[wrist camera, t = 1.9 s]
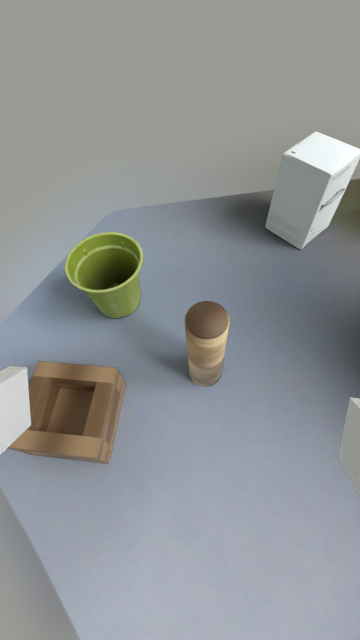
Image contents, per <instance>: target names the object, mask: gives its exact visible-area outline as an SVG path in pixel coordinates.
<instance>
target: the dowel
mask: <svg viewBox="0 0 360 640" xmlns="http://www.w3.org/2000/svg"><path fill="white" fill-rule="evenodd" d="M229 322H230V321H229V316H228V314H227V312H226V310H225V309H224V308H223V307H222V306H221V305H219V304H217V303H215V302H211V301H203V302H199V303H197V304H195V305H193V306H192V307H191V308H190V309H189V310H188V312H187V314H186V316H185V330H186V342H187V355H188V367H189V375H190V378H191V379H192V381H193V382H194V383H196V384H197V385H199V386H204V387H207V386H211V385H214V384H215V383H216V382H218V380H219V379H220V377H221V372H222V366H223V360H224V354H225V348H226V341H227V335H228V329H229Z"/></svg>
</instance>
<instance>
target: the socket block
mask: <svg viewBox="0 0 360 640" xmlns="http://www.w3.org/2000/svg"><path fill="white" fill-rule="evenodd" d="M125 386H126V383H125V381H124V379H123V378H122V376H121V374H120V373H119V371H118V369H117V368H114V367H103V366H91V365H79V364H68V363H56V362H44V361H38V363H37V365H36V368H35V370H34V373H33V376H32V378H31V381H30V384H29V386H28V389H29V402H30V416H31V426H30V427H29V428H28V429H27V430H26V431H25V432H24V433H22V434H21V435H20V436H19V437H18V438H17V439H16V440H15V441H14V442H13V443H12V444H11V445H10V446H9V447H8V448H11V449H14V450H17V451H21V452H24V453H27V454H31V455H39V456H48V457H56V458H64V459H73V460H81V461H89V462H97V463H106V464H109V461H110V457H111V452H112V447H113V442H114V438H115V433H116V428H117V424H118V419H119V414H120V409H121V405H122V400H123V395H124V390H125Z"/></svg>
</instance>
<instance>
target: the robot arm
mask: <svg viewBox="0 0 360 640" xmlns="http://www.w3.org/2000/svg"><path fill="white" fill-rule="evenodd" d="M30 426H31V416H30V402H29V389H28V375H27V367H18V366H9V367H7V368H5V369H4V370H2V371H0V455H1V454H2V453H3V452H4V451H5V450H6V449H7V448H8V447H9V446H10V445H11V444H12V443H13V442H14V441H15V440H16V439H17V438H18V437H19V436H20V435H21V434H22V433H24V432H25V431H26V430H27V429H28V428H29V427H30ZM338 461H339V463H340V464H341V466H342V468H343V470H344V471H345V473H346V475H347V476H348V478H349V480H350V482H351V483H352V485H353V487H354V488H355V490H356V492H357V494H358V495H359V497H360V398H351V397H350V399H349V404H348V409H347V414H346V419H345V424H344V429H343V434H342V439H341V444H340V450H339V455H338Z"/></svg>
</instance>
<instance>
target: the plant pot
mask: <svg viewBox="0 0 360 640" xmlns="http://www.w3.org/2000/svg"><path fill="white" fill-rule="evenodd" d="M142 264H143V252H142V249H141V247H140V245H139V244H138V243H137V242H136V241H135V240H134V239H133V238H131V237H130V236H128V235H125V234H122V233H116V232H106V233H99V234H96V235H93V236H90V237H88V238H86V239H84V240H82V241H81V242H79V243H78V244H77V245H76V246H75V247H74V248H73V249H72V250H71V252H70V253H69V255H68V257H67V259H66V263H65V272H66V276H67V278H68V279H69V281H70V282H71V283H72V284H73V285H74V286H75V287H77V288H78V289H80V290H82V291H84V292H85V293H86V294H87V295H88V296H89V298H90V299H91V300H92V301H93V302H94V304H95V305H96V306H97V307H98V309H99V310H100V311H101V312H102V313H103V314H104V315H105V316H107V317H110V318H120V317H123V316H127V315H130V314H131V313H133V312H134V311H135V310H136V309H137V307H138V306H139V303H140V282H139V273H140V269H141V267H142Z"/></svg>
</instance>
